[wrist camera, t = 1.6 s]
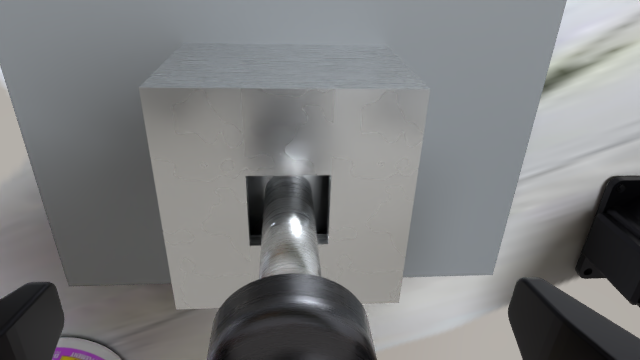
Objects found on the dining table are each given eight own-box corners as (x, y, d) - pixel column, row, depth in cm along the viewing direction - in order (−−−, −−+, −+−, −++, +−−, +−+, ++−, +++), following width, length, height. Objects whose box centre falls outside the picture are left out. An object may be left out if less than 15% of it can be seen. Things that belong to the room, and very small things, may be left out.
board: (561, -63, 18) (583, -63, 16) (481, 257, 25) (492, 274, 24) (-19, -82, 16) (-47, -84, 15) (80, 267, 24) (68, 286, 22)
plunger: (373, 109, 15) (474, 297, 7) (361, 247, 17) (424, 496, 9) (199, 109, 14) (98, 309, 6) (214, 251, 17) (155, 513, 9)
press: (386, 45, 18) (430, 89, 13) (370, 214, 22) (399, 302, 16) (183, 42, 17) (138, 87, 12) (203, 216, 21) (175, 309, 16)
